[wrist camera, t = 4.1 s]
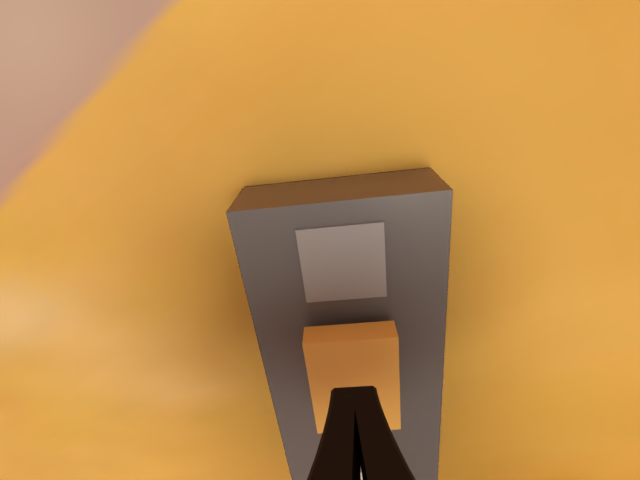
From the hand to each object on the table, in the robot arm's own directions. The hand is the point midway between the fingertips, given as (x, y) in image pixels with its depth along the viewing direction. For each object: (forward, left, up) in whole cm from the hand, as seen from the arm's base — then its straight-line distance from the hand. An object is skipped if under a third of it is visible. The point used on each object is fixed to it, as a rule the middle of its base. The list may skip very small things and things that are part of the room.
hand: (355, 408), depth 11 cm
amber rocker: (-2, -1, -3) cm, 4 cm away
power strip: (-4, -2, -7) cm, 8 cm away
